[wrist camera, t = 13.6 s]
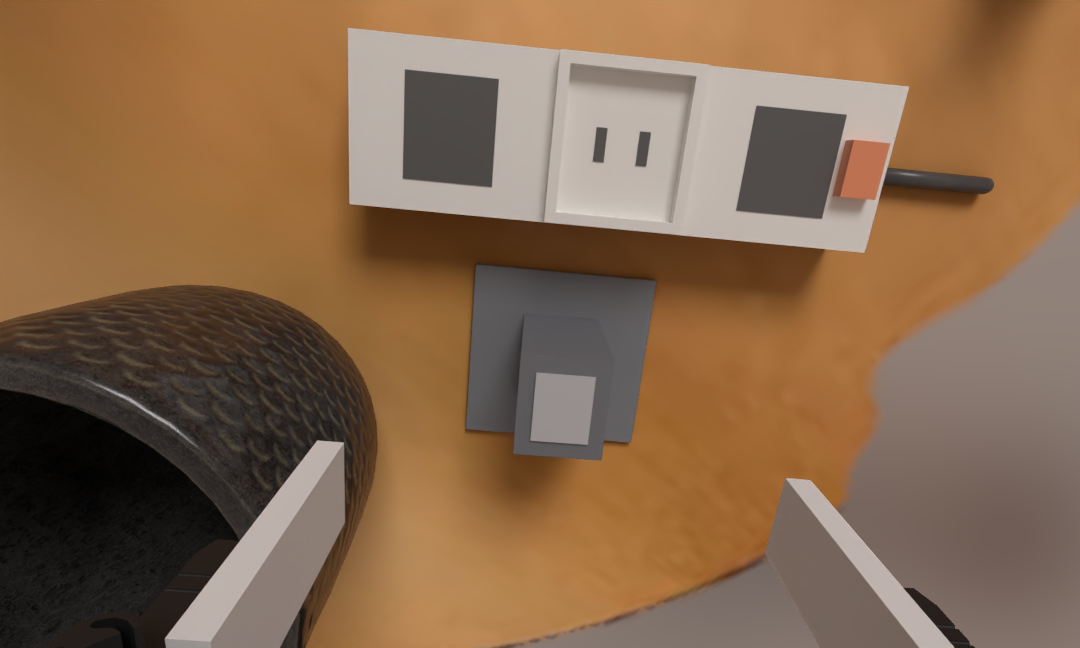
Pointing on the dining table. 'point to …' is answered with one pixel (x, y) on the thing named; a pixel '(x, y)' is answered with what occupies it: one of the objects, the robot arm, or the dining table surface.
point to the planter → (160, 445)
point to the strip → (622, 142)
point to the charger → (563, 388)
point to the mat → (553, 294)
